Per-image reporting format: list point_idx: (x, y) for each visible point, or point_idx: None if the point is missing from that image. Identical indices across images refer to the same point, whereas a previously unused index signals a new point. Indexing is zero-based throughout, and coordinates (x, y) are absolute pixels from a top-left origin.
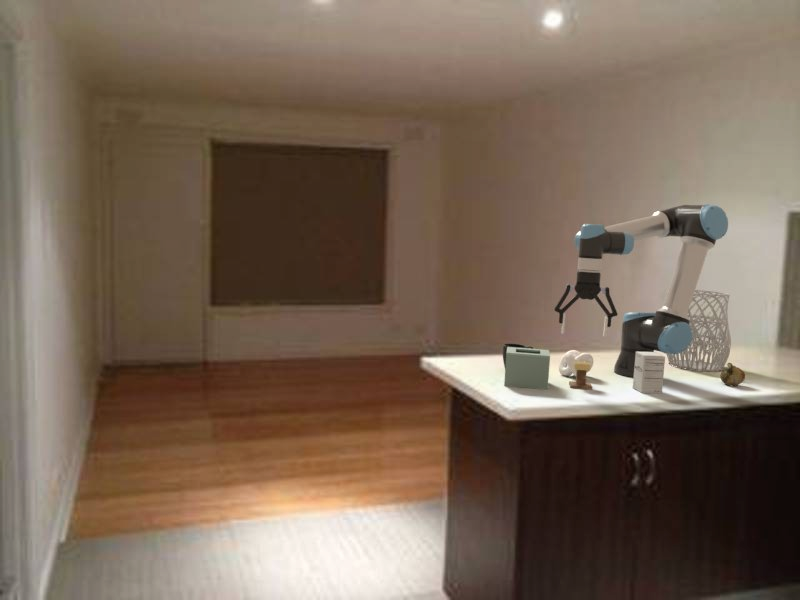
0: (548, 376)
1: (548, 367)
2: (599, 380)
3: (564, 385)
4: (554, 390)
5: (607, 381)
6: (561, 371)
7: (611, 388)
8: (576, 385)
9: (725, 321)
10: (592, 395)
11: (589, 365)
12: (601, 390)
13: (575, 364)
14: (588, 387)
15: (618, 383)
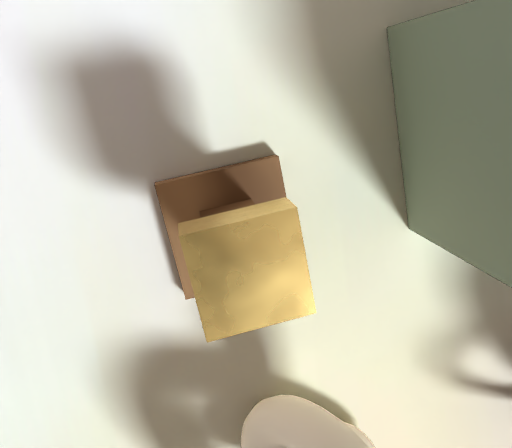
0: (426, 15)
1: (468, 2)
2: (161, 440)
3: (312, 199)
4: (348, 23)
5: (118, 444)
6: (363, 435)
7: (59, 286)
8: (246, 176)
9: None
10: (120, 11)
11: (185, 232)
12: (100, 195)
13: (290, 206)
14: (175, 180)
15: (54, 435)
